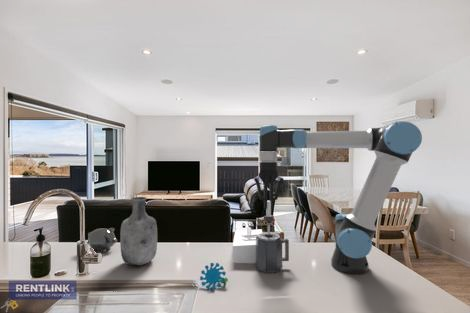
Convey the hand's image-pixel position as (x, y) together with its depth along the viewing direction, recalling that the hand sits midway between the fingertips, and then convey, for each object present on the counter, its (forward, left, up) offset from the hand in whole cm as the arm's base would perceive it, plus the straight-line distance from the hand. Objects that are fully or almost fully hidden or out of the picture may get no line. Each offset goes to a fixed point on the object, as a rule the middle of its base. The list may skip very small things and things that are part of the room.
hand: (268, 216), depth 115 cm
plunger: (0, 0, -14) cm, 14 cm away
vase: (+58, -13, -23) cm, 64 cm away
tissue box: (+6, -18, -23) cm, 30 cm away
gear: (+24, +12, -24) cm, 36 cm away
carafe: (-2, 0, -23) cm, 23 cm away
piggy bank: (+81, -30, -23) cm, 90 cm away
